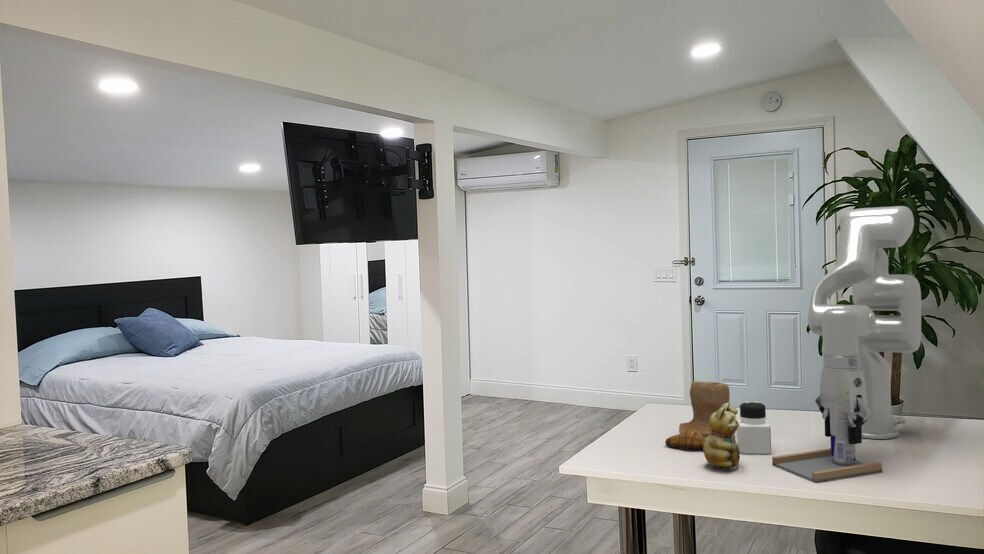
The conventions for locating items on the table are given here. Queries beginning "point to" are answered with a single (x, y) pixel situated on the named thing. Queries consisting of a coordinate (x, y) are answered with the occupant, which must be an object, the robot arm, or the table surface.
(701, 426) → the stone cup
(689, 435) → the croissant
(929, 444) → the table surface
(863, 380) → the robot arm
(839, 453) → the beverage can
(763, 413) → the medicine bottle
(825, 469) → the rail mat
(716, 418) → the decorative figurine
